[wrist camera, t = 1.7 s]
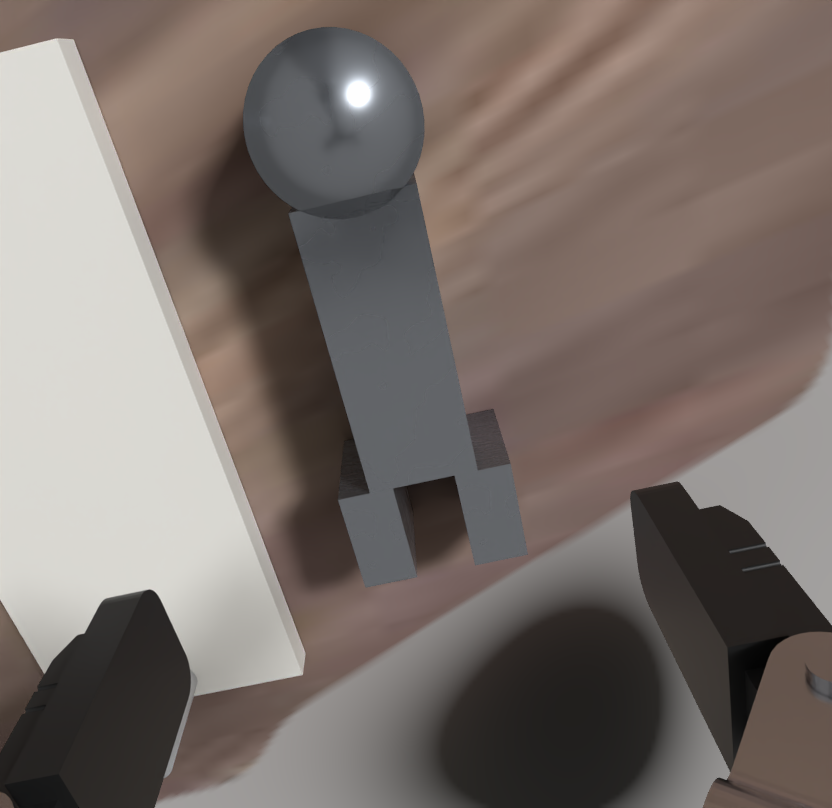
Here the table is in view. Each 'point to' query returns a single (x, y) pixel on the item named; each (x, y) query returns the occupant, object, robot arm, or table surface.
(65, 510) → the peg rest
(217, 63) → the table surface
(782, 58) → the table surface
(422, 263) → the ball-topped forked rod
